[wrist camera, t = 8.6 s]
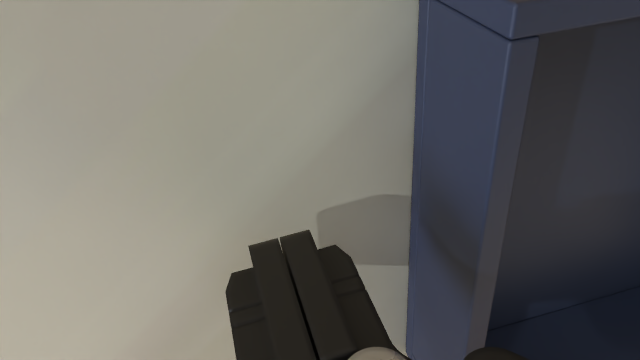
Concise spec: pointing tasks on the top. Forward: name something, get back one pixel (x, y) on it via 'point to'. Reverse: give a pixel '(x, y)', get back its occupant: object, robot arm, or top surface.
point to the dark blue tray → (526, 180)
